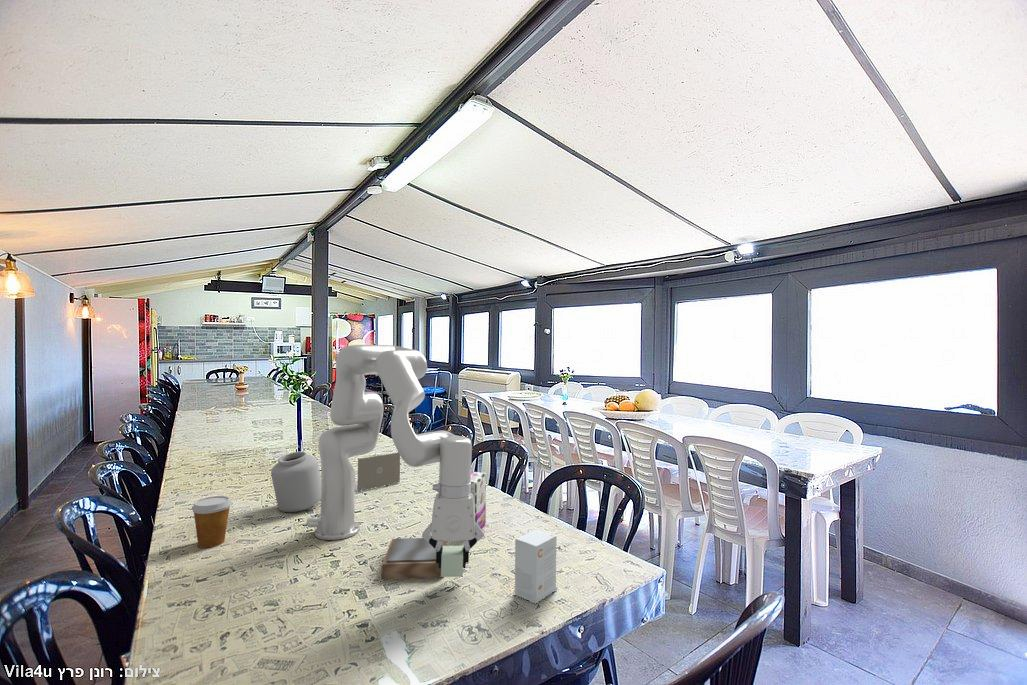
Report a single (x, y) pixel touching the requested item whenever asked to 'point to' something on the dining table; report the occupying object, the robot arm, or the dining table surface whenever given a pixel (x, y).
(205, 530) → the disposable coffee cup
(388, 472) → the laptop
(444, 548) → the sage cube
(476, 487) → the candy bar box
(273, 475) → the jar
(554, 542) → the small box
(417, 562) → the walnut base
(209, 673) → the dining table surface
